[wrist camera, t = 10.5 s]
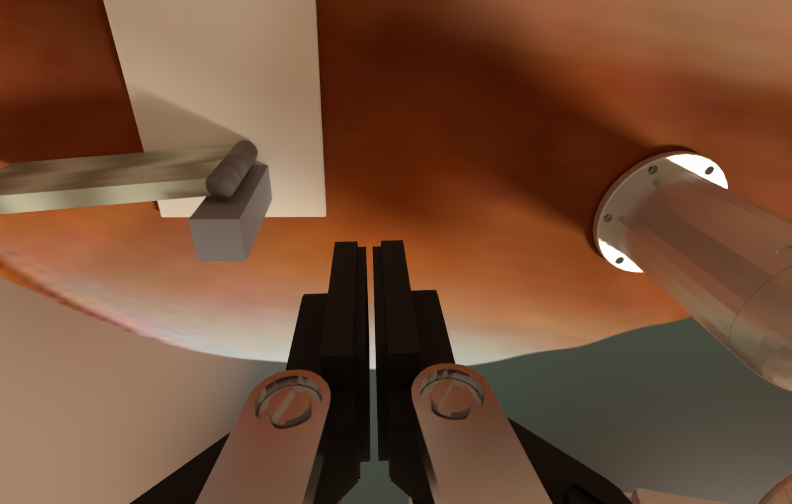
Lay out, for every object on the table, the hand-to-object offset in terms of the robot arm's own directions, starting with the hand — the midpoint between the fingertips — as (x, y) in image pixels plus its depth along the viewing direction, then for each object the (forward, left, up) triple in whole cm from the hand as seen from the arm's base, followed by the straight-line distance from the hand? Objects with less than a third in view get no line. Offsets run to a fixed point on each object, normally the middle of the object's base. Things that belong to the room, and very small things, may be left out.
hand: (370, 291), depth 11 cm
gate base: (+10, -3, -26) cm, 28 cm away
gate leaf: (+17, +5, -25) cm, 31 cm away
